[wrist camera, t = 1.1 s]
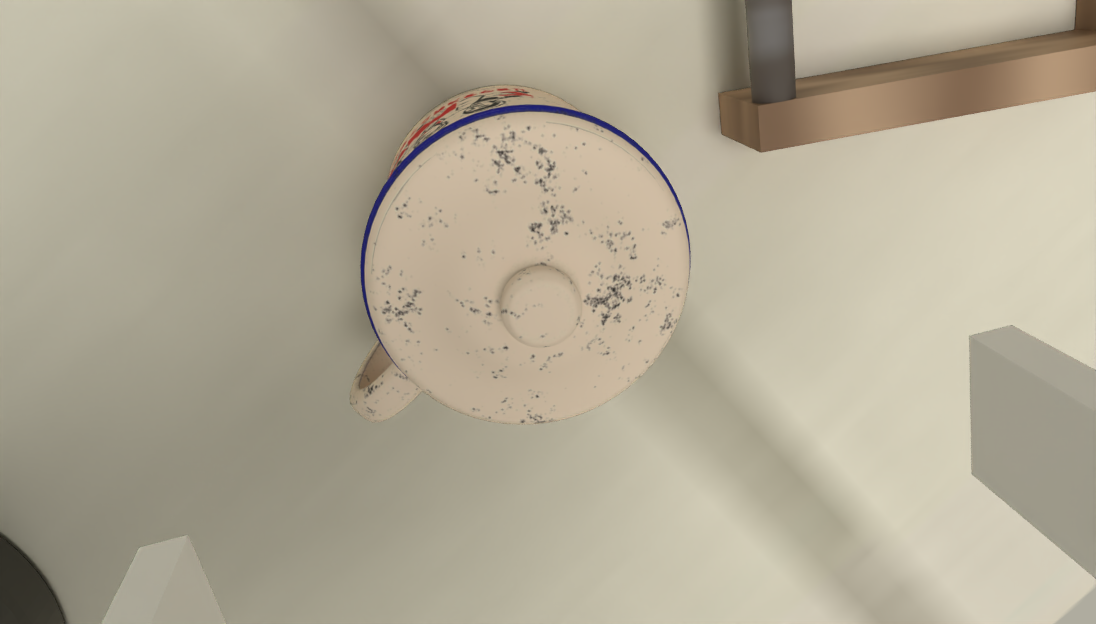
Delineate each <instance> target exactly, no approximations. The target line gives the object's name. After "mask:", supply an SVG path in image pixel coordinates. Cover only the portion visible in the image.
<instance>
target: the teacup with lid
mask: <svg viewBox="0 0 1096 624" xmlns="http://www.w3.org/2000/svg"><path fill="white" fill-rule="evenodd" d="M360 266H361V285H362V292H363V298H364V302H365V306H366V310H367V314H368V317H369V319H370V322H371V325H372V327H373V330H374V332H375V334H376V336H377V338H378V340H377V342H376V343H375V344H374V346H373V347H372V349H371V350H370V352H369V353H368V355H367V356H366V358H365V360H364V361H363V363H362V365H361V367H360V369H359V371H358V373H357V375H356V377H355V379H354V382H353V385H352V388H351V392H350V403H351V406H352V407H353V409H354V410H355V411H356V412H357V413H359V414H360V415H361V416H363V417H364V418H365V419H367V420H369V421H371V422H381V421H384V420H387V419H389V418H391V417H393V416H394V415H396V414H397V413H399V412H400V411H401V410H403V409H404V408H405V407H406V406H407V405H408V404H410V403H411V402H412V401H413V400H414V399H415V398H416V397H417V396H418V395H419V394H420V393H421V392H422V391H423V392H425V393H426V394H427V395H429V396H430V397H432V398H433V399H435V400H436V401H438V402H440V403H442V404H443V405H445V406H447V407H449V408H451V409H453V410H455V411H458V412H460V413H463V414H465V415H468V416H471V417H474V418H478V419H482V420H486V421H491V422H497V423H503V424H539V423H548V422H553V421H558V420H563V419H566V418H570V417H573V416H577V415H579V414H582V413H585V412H587V411H590V410H592V409H594V408H596V407H598V406H600V405H602V404H604V403H606V402H607V401H609V400H611V399H612V398H614V397H616V396H617V395H619V394H620V393H621V392H623V391H624V390H625V389H627V388H628V387H630V386H631V385H632V384H633V383H634V382H635V381H636V380H637V379H639V378H640V377H641V376H642V375H643V374H644V373H645V372H646V371H647V369H648V368H649V367H650V366H651V365H652V364H653V363H654V361H655V360H656V359H657V358H658V356H659V355H660V354H661V352H662V351H663V349H664V347H665V346H666V344H667V343H668V341H669V339H670V337H671V336H672V334H673V332H674V330H675V328H676V325H677V323H678V321H679V318H680V316H681V313H682V309H683V306H684V303H685V299H686V294H687V289H688V283H689V275H690V242H689V234H688V229H687V224H686V220H685V217H684V214H683V210H682V207H681V205H680V202H679V200H678V198H677V195H676V193H675V191H674V189H673V187H672V186H671V184H670V182H669V180H668V179H667V177H666V176H665V174H664V173H663V171H662V170H661V168H660V167H659V166H658V164H657V163H656V162H655V161H654V160H653V159H652V158H651V156H650V155H649V154H648V153H647V152H646V151H645V150H644V149H643V148H642V147H641V146H639V145H638V144H637V143H636V142H635V141H634V140H632V139H631V138H630V137H628V136H627V135H626V134H624V133H623V132H622V131H620V130H618V129H617V128H615V127H613V126H612V125H610V124H608V123H606V122H604V121H602V120H600V119H597V118H595V117H593V116H590V115H587V114H585V113H582V112H580V111H579V110H577V109H576V108H575V107H573V106H572V105H570V104H569V103H567V102H565V101H564V100H562V99H560V98H558V97H556V96H554V95H552V94H549V93H546V92H543V91H541V90H537V89H533V88H529V87H522V86H514V85H498V86H488V87H482V88H477V89H474V90H470V91H466V92H464V93H461V94H459V95H456V96H454V97H452V98H450V99H448V100H446V101H444V102H443V103H441V104H440V105H438V106H437V107H435V108H434V109H432V110H431V111H430V112H429V113H428V114H426V115H425V116H424V117H423V118H422V119H421V120H420V121H419V122H418V123H417V124H416V125H415V126H414V127H413V129H412V130H411V131H410V132H409V133H408V135H407V136H406V138H405V139H404V141H403V142H402V144H401V146H400V148H399V149H398V151H397V153H396V155H395V158H394V160H393V163H392V165H391V169H390V172H389V175H388V179H387V182H386V183H385V185H384V186H383V188H382V190H381V192H380V194H379V196H378V198H377V200H376V201H375V204H374V206H373V209H372V211H371V214H370V216H369V219H368V223H367V226H366V230H365V233H364V239H363V244H362V251H361V265H360Z"/></svg>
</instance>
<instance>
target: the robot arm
mask: <svg viewBox="0 0 1096 624" xmlns="http://www.w3.org/2000/svg"><path fill="white" fill-rule="evenodd" d="M969 352H970V411H971V470H972V475H973V476H975V477H976V478H977V479H978V480H979V481H980V482H982V483H983V484H984V485H985V486H986V487H988V488H989V489H990V490H991V491H992V492H993V493H995V494H996V495H997V496H998V497H999V498H1001V499H1002V500H1003V501H1004V502H1005V503H1007V504H1008V505H1009V506H1010V507H1011V508H1012V509H1014V510H1015V511H1016V512H1017V513H1018V514H1020V515H1021V516H1022V517H1023V518H1024V519H1025V520H1027V521H1028V522H1029V523H1030V524H1031V525H1033V526H1034V527H1035V528H1036V529H1037V530H1039V531H1040V532H1041V533H1042V534H1043V535H1044V536H1046V537H1047V538H1048V539H1049V540H1050V541H1052V542H1053V543H1054V544H1055V545H1056V546H1057V547H1059V548H1060V549H1061V550H1062V551H1063V552H1065V553H1066V554H1067V555H1068V556H1069V557H1071V558H1072V559H1073V560H1074V561H1075V562H1076V563H1078V564H1079V565H1080V566H1081V567H1082V568H1084V569H1085V570H1086V571H1087V572H1088V573H1089V574H1091V575H1092V576H1093V577H1094V578H1095V579H1096V370H1094V369H1093V368H1091V367H1089V366H1087V365H1085V364H1083V363H1081V362H1080V361H1078V360H1076V359H1074V358H1072V357H1070V356H1068V355H1067V354H1065V353H1063V352H1061V351H1059V350H1057V349H1055V348H1054V347H1052V346H1050V345H1048V344H1046V343H1044V342H1042V341H1041V340H1039V339H1037V338H1035V337H1033V336H1031V335H1029V334H1028V333H1026V332H1024V331H1022V330H1020V329H1018V328H1016V327H1015V326H1013V325H1010V326H1006V327H1002V328H998V329H994V330H990V331H986V332H982V333H978V334H974V335H970V336H969ZM0 624H65V623H64V620H63V617H62V614H61V612H60V609H59V607H58V605H57V603H56V601H55V599H54V597H53V595H52V593H51V591H50V590H49V588H48V587H47V585H46V583H45V582H44V581H43V579H42V578H41V577H40V575H39V574H38V572H37V571H36V570H35V569H34V568H33V567H32V565H31V564H30V563H29V562H28V561H27V560H26V559H25V558H24V557H23V556H22V555H21V554H20V553H19V552H18V551H17V550H16V549H15V548H14V547H12V546H11V545H10V544H9V543H8V542H7V541H5V540H4V539H3V538H1V537H0ZM101 624H226V622H225V619H224V617H223V615H222V612H221V610H220V608H219V605H218V603H217V601H216V598H215V596H214V594H213V591H212V589H211V587H210V584H209V582H208V580H207V577H206V575H205V573H204V570H203V568H202V566H201V563H200V561H199V559H198V556H197V554H196V552H195V549H194V547H193V545H192V542H191V540H190V538H189V535H185V536H181V537H177V538H173V539H170V540H166V541H162V542H158V543H154V544H150V545H146V546H142V547H139V549H138V551H137V553H136V555H135V557H134V559H133V561H132V563H131V565H130V567H129V569H128V571H127V573H126V575H125V577H124V579H123V581H122V583H121V585H120V587H119V589H118V591H117V593H116V595H115V597H114V599H113V601H112V603H111V605H110V607H109V609H108V611H107V613H106V615H105V617H104V619H103V621H102V623H101Z"/></svg>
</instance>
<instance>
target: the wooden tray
mask: <svg viewBox="0 0 1096 624" xmlns="http://www.w3.org/2000/svg"><path fill="white" fill-rule="evenodd" d="M745 5H746V20H747V35H748V50H749V65H750V80H751V87H750V88H744V89H739V90H733V91H727V92H722V93H718V94H719V106H720V119H721V131H722V135H724V136H727V137H729V138H731V139H733V140H735V141H737V142H739V143H742V144H744V145H746V146H748V147H750V148H752V149H754V150H757V151H759V152H766V151H772V150H777V149H783V148H788V147H794V146H799V145H805V144H810V143H815V142H821V141H826V140H832V139H837V138H843V137H848V136H854V135H859V134H865V133H870V132H876V131H881V130H887V129H892V128H897V127H903V126H908V125H914V124H919V123H925V122H930V121H936V120H941V119H947V118H952V117H958V116H963V115H968V114H974V113H979V112H985V111H990V110H996V109H1001V108H1007V107H1012V106H1018V105H1023V104H1029V103H1034V102H1039V101H1045V100H1050V99H1056V98H1061V97H1067V96H1072V95H1078V94H1083V93H1089V92H1094V91H1096V0H1077V7H1076V22H1075V30H1071V31H1065V32H1059V33H1054V34H1048V35H1042V36H1037V37H1031V38H1026V39H1020V40H1014V41H1009V42H1003V43H997V44H992V45H986V46H981V47H975V48H969V49H964V50H958V51H952V52H947V53H941V54H936V55H930V56H924V57H919V58H913V59H907V60H902V61H896V62H891V63H885V64H879V65H874V66H868V67H862V68H857V69H851V70H845V71H840V72H834V73H829V74H823V75H817V76H812V77H806V78H800V79H795V61H794V40H793V19H792V0H745Z"/></svg>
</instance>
